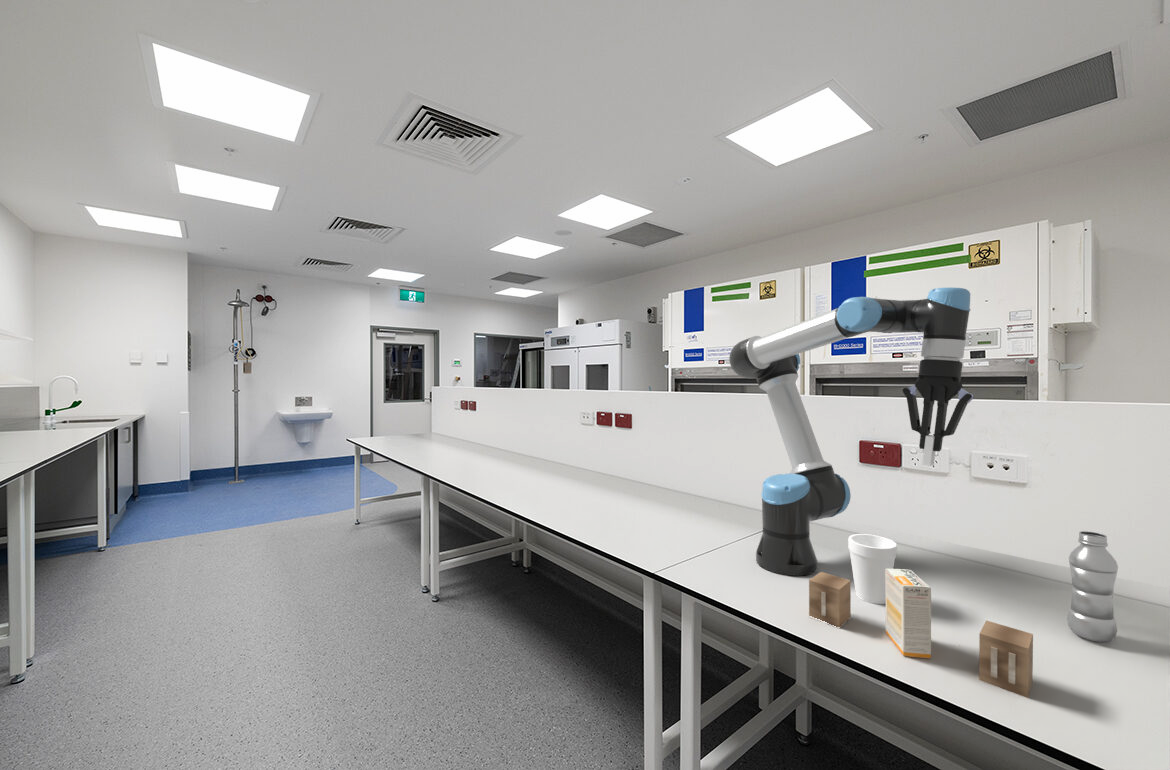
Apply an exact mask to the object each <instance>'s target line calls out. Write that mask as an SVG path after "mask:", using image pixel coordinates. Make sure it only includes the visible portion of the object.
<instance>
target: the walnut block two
mask: <svg viewBox="0 0 1170 770" xmlns="http://www.w3.org/2000/svg"><path fill="white" fill-rule="evenodd" d="M978 638H979V645H978V646H979V648H978V649H979V650H978V651H979V655H978V656H979V657H978V658H979V660H978V661H979V662H978V663H979V666H978V668H979V669H978V670H979V671H978V673H979V675H978V680H979V681H981V682H983V683H985V684H989V685H991V686H994V687H996V688H999V689H1002V690H1004V691H1007V692H1011V693H1014V694H1016V695H1019V696H1021V697H1023V698H1027V699H1029V696H1030V692H1031V688H1032V685H1033V680H1034V675H1033V671H1034V670H1033V669H1034V668H1033V666H1034V664H1033V662H1034V658H1033V657H1034V634H1033V633H1030V632H1027V631H1025V630H1021V629H1017V628H1014V627H1010V626H1007V625H1003V624H1000V623H997V622H993V621H989V620H985V622H984V623H983V625H982V628H981V629H980V631H979V637H978Z"/></svg>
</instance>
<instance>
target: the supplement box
mask: <svg viewBox="0 0 1170 770" xmlns="http://www.w3.org/2000/svg"><path fill="white" fill-rule="evenodd" d="M885 587H886V603H885V634H886V635H887V637H888V638H889V639H890V641H892V643H893V644H894V645H895V647H896V648H897V649H898V650H899V652H900V654H902V655H903V656H904V657H910V658H921V659H922V658H924V659H931V658H932V587H931V586H929V584H927V582H925V581H924V580H923V579H922V578H920V577H919V576H918V575H917V574H916V573H915V572H914V571H913V570H912V569H907V568H906V569H905V568H902V569H901V568H893V569H885Z"/></svg>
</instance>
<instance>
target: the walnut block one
mask: <svg viewBox="0 0 1170 770" xmlns="http://www.w3.org/2000/svg"><path fill="white" fill-rule="evenodd" d="M851 583H852V582H851V580H849V579H848V578H847V579H846V578H845V577H839V576H837V575H834V574H831V573H827V572H824V571H820V572H819V573H816V575H814V576H813V577H811V578H810V579H809V580H808V594H809V595H808V610H809V611H808V615H809V616H812V617H814V618H817V619H820V620H822V621H825V622H827V623H829V624H831V625H834V626H836V627H835V628H837V627H840V628H842V627H843V626H844V625H845V624H846V623H847V622H848V621H849V620H850V619H851V618H852V617H851V608H852V607H851V602H852V601H851V599H852V598H851V593H852V592H851V591H852V590H851ZM809 616H808V617H809ZM850 617H851V618H850ZM849 618H850V619H849ZM848 619H849V620H848ZM847 620H848V621H847ZM846 621H847V622H846ZM845 622H846V623H845ZM844 623H845V624H844ZM829 624H828V625H829ZM831 625H830V626H831ZM834 626H833V627H834Z"/></svg>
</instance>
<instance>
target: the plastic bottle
mask: <svg viewBox="0 0 1170 770" xmlns="http://www.w3.org/2000/svg"><path fill="white" fill-rule="evenodd" d="M1077 541H1078V542H1079V543H1080V544H1079V545H1078V546H1077V547H1075V548H1074V549H1073V550H1072V551H1071V552H1070V553H1069V556H1068V562H1069V569H1070V574H1071V583H1072V584H1071V585H1072V587H1071V588H1072V589H1071V590H1072V594H1071V600H1070V607H1069V609H1068V613H1067V618H1066V620H1067V625H1068V628H1069V629H1070V630H1071V632H1072V633H1073V634H1074V635H1077V636H1078V637H1081V638H1084V639H1086V640H1089V641H1093V642H1098V643H1099V642H1100V643H1110V642H1112V641H1114V640H1115V639H1116V637H1117V632H1118V627H1117V623H1116V622H1117V621H1116V619H1115V614H1114V613H1115V612H1114V602H1113V601H1114V599H1113V598H1114V595H1113V594H1114V590H1115V584H1116V583H1115V582H1116V579H1117V574H1118V569H1119V566H1118V563H1117V560H1116V559H1115V558H1114V557H1113V555H1112V554H1111V552H1110V551H1108V549H1106V548H1107V547H1109V545H1108V536H1107V535H1106V534H1103V533H1100V532H1093V531H1087V530H1086V531H1085V530H1084V531H1083V530H1081V531H1079V533H1078V540H1077Z"/></svg>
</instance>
